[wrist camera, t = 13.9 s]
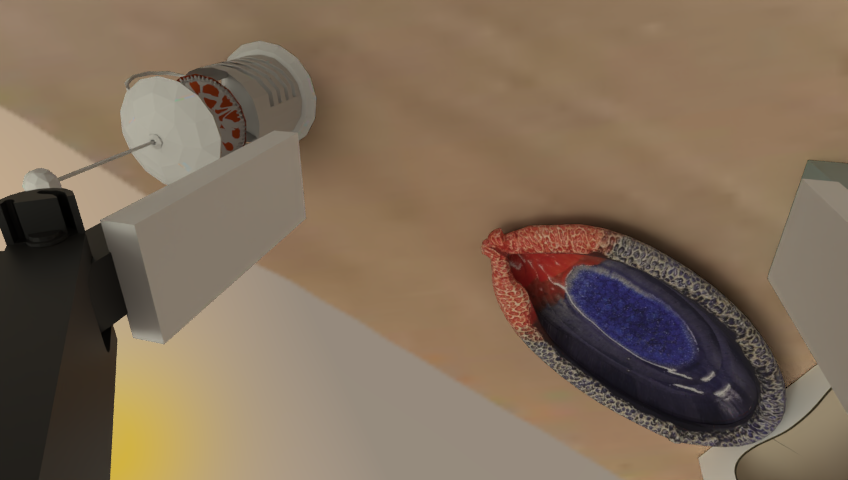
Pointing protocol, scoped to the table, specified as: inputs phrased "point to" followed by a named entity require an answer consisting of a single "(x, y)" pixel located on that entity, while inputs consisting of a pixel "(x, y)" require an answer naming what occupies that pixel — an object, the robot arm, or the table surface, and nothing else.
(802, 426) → the gable box
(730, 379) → the dish
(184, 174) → the french press
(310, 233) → the table surface
